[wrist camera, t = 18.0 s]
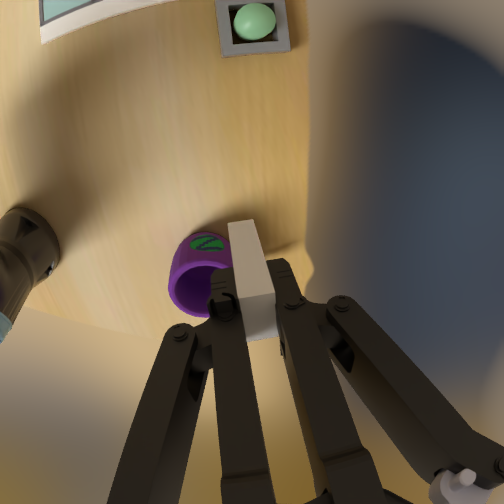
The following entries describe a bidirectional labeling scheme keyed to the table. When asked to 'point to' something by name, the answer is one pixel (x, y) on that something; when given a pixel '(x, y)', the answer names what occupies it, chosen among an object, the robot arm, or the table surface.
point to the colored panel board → (82, 14)
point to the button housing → (280, 43)
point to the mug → (197, 271)
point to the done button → (254, 22)
